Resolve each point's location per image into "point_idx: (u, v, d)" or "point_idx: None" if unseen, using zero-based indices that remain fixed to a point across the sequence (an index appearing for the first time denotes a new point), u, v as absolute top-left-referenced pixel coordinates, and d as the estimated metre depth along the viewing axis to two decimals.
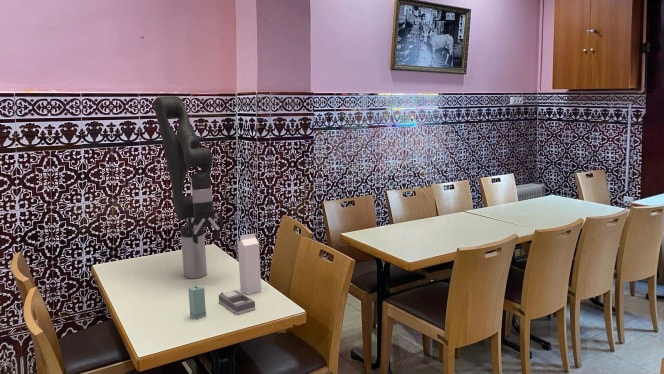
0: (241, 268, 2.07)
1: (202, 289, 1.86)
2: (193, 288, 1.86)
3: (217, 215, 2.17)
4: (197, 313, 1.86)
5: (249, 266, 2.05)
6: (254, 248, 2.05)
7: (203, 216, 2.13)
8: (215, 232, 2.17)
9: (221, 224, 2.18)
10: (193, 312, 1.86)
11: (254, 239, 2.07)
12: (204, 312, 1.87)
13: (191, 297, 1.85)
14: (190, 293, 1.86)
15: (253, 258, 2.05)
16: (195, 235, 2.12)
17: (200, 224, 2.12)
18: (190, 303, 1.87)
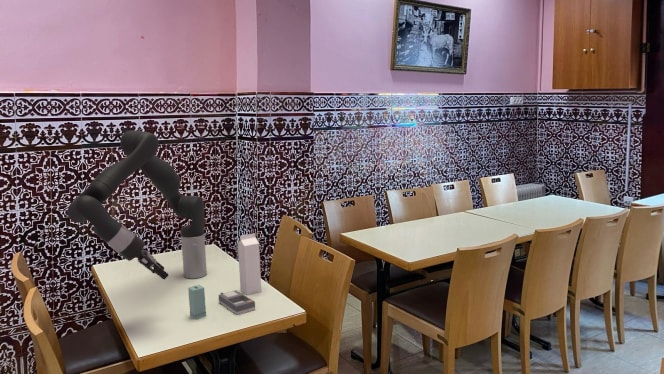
0: (241, 268, 2.07)
1: (202, 289, 1.86)
2: (193, 288, 1.86)
3: None
4: (197, 313, 1.86)
5: (249, 266, 2.05)
6: (254, 248, 2.05)
7: None
8: None
9: None
10: (193, 312, 1.86)
11: (254, 239, 2.07)
12: (204, 312, 1.87)
13: (191, 297, 1.85)
14: (190, 293, 1.86)
15: (253, 258, 2.05)
16: None
17: None
18: (190, 303, 1.87)
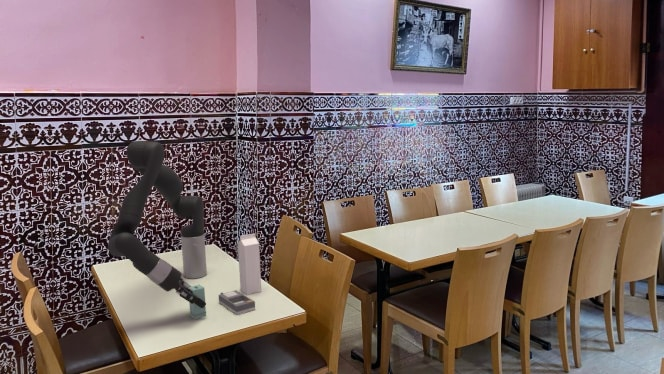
0: (241, 268, 2.07)
1: (202, 289, 1.86)
2: (193, 287, 1.86)
3: None
4: (197, 313, 1.86)
5: (249, 266, 2.05)
6: (254, 248, 2.05)
7: None
8: None
9: None
10: (193, 312, 1.86)
11: (254, 239, 2.07)
12: (204, 312, 1.87)
13: (191, 297, 1.85)
14: None
15: (253, 258, 2.05)
16: None
17: None
18: (190, 303, 1.87)
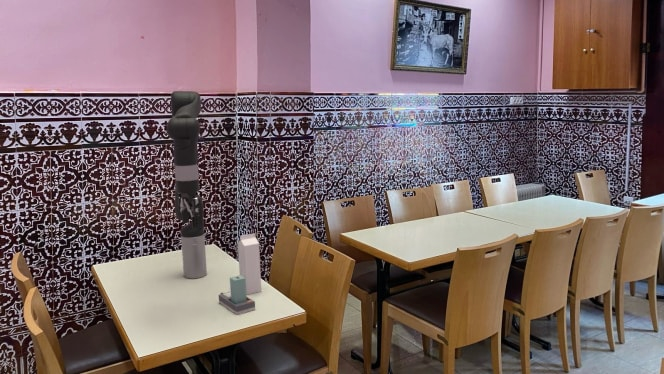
0: (241, 268, 2.07)
1: (243, 279, 1.91)
2: (235, 278, 1.92)
3: None
4: (238, 302, 1.91)
5: (249, 266, 2.05)
6: (254, 248, 2.05)
7: (184, 196, 1.87)
8: None
9: (193, 212, 1.82)
10: (234, 301, 1.91)
11: (254, 239, 2.07)
12: None
13: (233, 286, 1.91)
14: (232, 283, 1.91)
15: (253, 258, 2.05)
16: None
17: (181, 203, 1.88)
18: (231, 292, 1.93)
